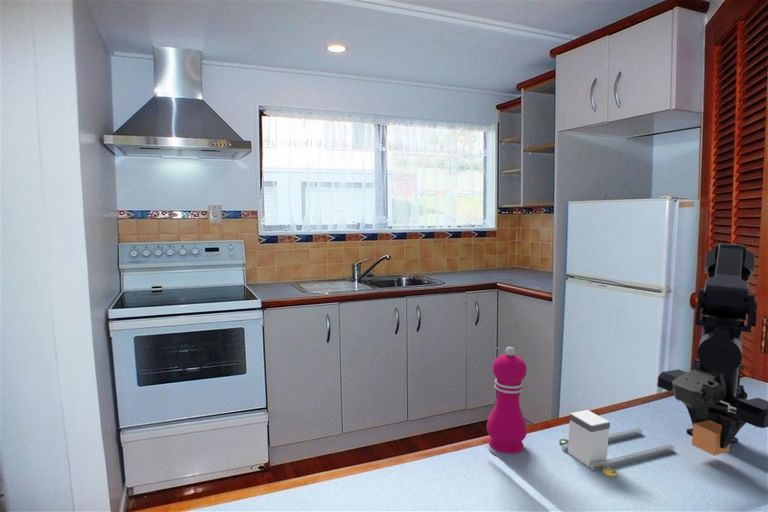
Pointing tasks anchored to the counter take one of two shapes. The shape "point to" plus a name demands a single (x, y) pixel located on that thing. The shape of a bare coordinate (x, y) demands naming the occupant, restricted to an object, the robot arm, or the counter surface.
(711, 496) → the counter surface
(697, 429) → the orange cube
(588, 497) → the counter surface
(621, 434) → the panel
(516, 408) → the pepper mill
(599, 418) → the plate
